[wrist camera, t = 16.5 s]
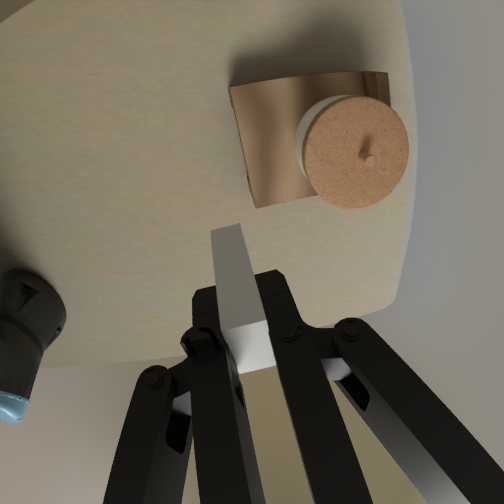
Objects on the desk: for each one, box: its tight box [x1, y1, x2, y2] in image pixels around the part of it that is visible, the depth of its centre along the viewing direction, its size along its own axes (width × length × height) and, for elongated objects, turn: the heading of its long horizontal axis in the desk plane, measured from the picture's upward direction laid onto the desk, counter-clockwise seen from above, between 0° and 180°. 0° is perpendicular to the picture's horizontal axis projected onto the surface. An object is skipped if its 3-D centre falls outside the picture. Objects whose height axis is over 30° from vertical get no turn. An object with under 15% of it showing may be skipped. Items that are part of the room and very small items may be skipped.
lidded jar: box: [295, 95, 409, 209], centre depth 26 cm, size 11×11×9 cm
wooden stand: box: [228, 71, 392, 208], centre depth 30 cm, size 16×14×7 cm
